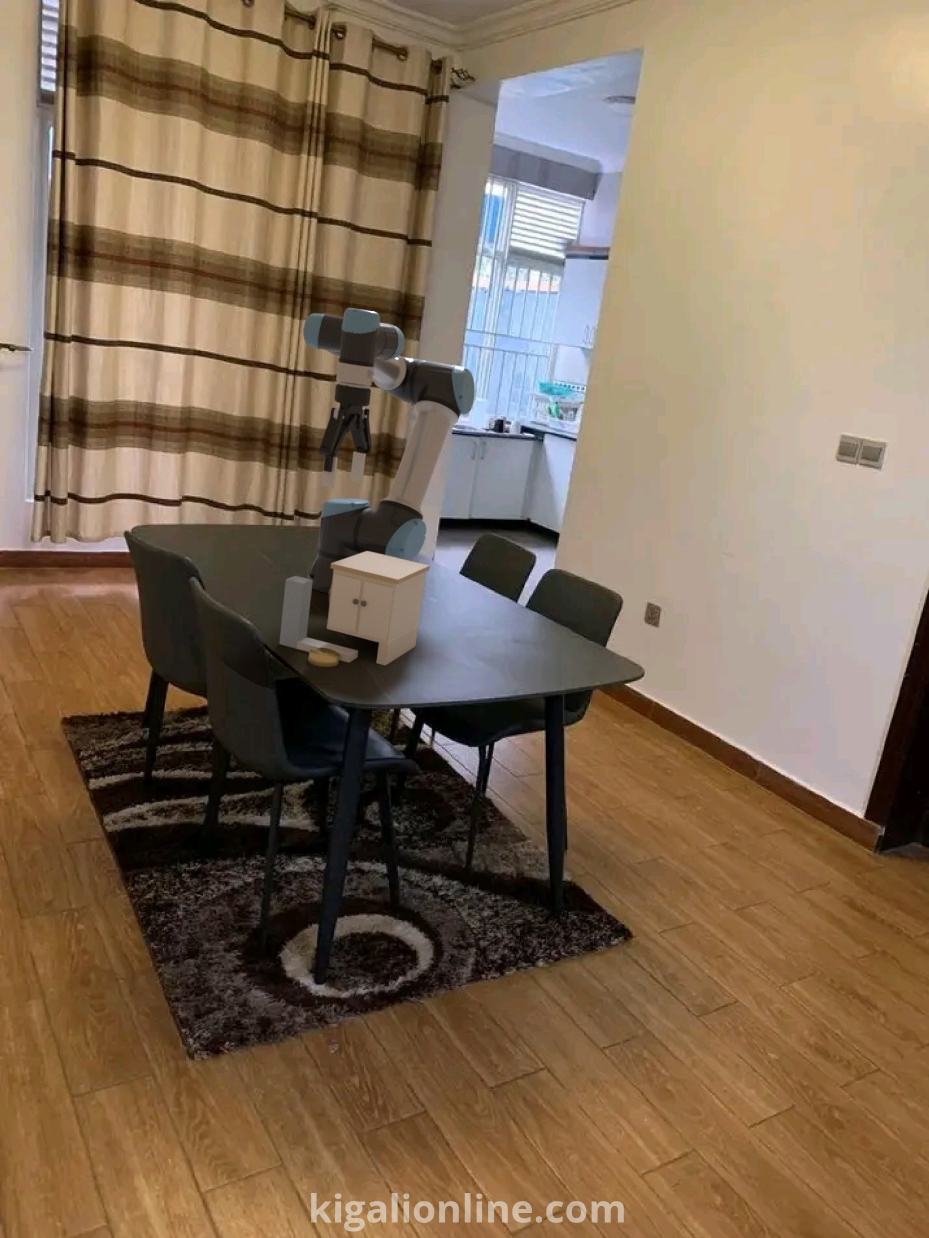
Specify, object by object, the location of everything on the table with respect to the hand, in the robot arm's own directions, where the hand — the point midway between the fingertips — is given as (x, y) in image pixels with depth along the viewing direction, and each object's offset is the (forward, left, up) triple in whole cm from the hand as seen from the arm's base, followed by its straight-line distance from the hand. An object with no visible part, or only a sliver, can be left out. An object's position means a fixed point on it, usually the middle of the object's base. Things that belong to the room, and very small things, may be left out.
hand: (342, 484), depth 204 cm
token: (+12, -24, -32) cm, 42 cm away
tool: (+8, -19, -32) cm, 38 cm away
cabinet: (+15, -9, -32) cm, 36 cm away
